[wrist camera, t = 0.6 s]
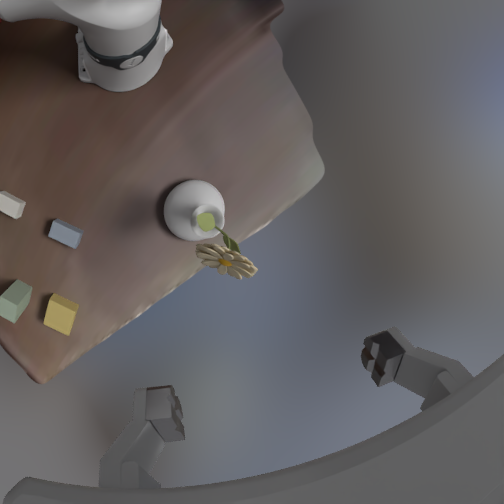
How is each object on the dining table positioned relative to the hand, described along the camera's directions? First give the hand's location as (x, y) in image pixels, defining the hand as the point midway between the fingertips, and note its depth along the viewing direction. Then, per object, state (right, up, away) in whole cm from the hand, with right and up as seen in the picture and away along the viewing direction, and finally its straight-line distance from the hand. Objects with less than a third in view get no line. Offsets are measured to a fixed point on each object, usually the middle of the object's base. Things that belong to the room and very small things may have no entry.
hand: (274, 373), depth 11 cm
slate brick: (-35, +9, +36) cm, 51 cm away
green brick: (-48, -3, +34) cm, 59 cm away
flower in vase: (-12, +12, +44) cm, 47 cm away
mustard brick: (-40, -7, +39) cm, 56 cm away
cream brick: (-47, +14, +30) cm, 57 cm away
